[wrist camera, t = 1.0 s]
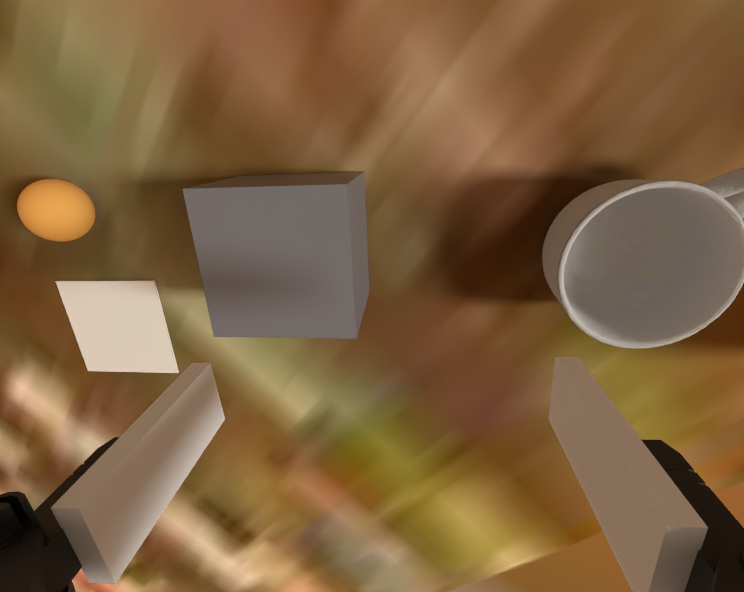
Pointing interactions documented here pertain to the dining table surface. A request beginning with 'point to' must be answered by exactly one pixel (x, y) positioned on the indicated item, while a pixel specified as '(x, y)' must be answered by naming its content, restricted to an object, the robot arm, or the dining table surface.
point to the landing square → (119, 325)
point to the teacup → (648, 258)
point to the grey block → (282, 253)
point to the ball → (56, 210)
